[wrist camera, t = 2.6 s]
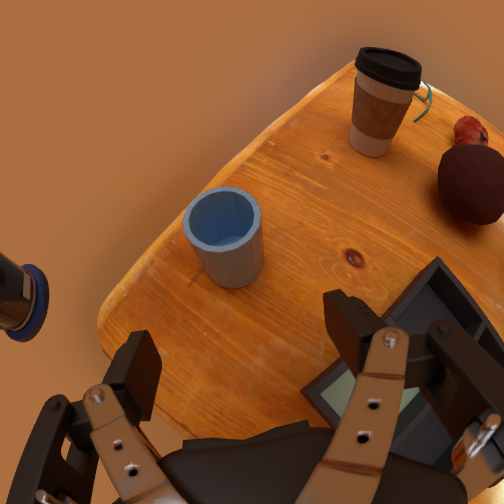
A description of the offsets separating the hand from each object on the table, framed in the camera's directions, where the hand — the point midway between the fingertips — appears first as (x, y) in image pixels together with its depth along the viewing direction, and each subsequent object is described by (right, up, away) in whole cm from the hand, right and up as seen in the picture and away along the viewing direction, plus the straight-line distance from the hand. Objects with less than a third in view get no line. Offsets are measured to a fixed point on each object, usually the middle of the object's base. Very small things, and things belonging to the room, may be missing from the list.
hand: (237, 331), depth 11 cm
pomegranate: (+39, +22, +23) cm, 51 cm away
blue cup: (-1, +3, +16) cm, 16 cm away
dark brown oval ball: (+30, +10, +18) cm, 36 cm away
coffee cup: (+18, +19, +23) cm, 35 cm away
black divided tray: (+17, -10, +8) cm, 22 cm away
